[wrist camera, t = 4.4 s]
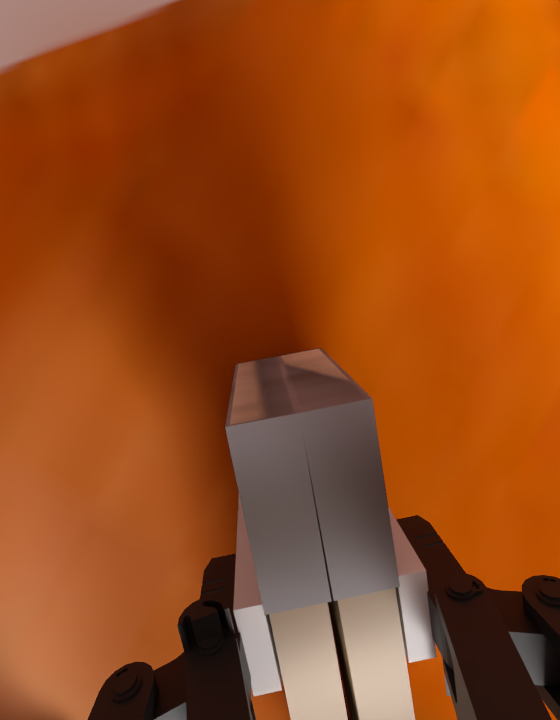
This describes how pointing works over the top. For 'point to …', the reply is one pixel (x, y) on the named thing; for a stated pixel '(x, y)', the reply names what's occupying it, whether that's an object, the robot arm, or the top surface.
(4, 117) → the top surface
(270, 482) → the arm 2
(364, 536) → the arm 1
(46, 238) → the top surface
